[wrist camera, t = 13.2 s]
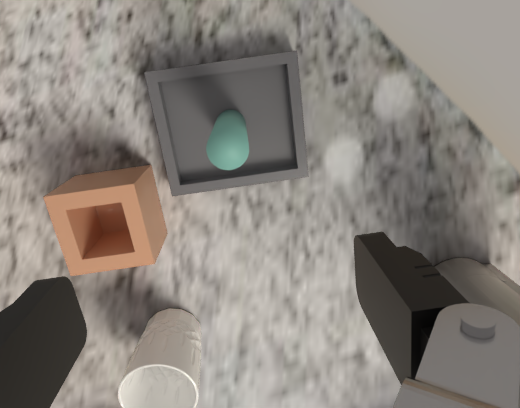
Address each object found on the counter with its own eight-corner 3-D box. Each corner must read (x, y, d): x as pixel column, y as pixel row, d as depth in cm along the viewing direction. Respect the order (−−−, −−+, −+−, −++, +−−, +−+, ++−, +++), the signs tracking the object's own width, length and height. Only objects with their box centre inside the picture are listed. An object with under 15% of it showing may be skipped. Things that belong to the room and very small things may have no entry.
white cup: (135, 307, 46) (108, 370, 36) (200, 299, 46) (190, 359, 36) (149, 359, 48) (127, 430, 39) (210, 351, 48) (204, 420, 39)
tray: (293, 51, 37) (296, 50, 34) (304, 170, 41) (308, 176, 39) (150, 71, 37) (144, 72, 34) (175, 188, 41) (172, 196, 38)
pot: (151, 164, 40) (133, 183, 33) (167, 233, 43) (154, 263, 36) (75, 175, 40) (43, 196, 33) (96, 243, 42) (70, 276, 36)
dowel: (243, 107, 37) (245, 124, 26) (247, 137, 38) (252, 166, 27) (213, 111, 37) (202, 131, 26) (218, 141, 38) (210, 172, 27)
